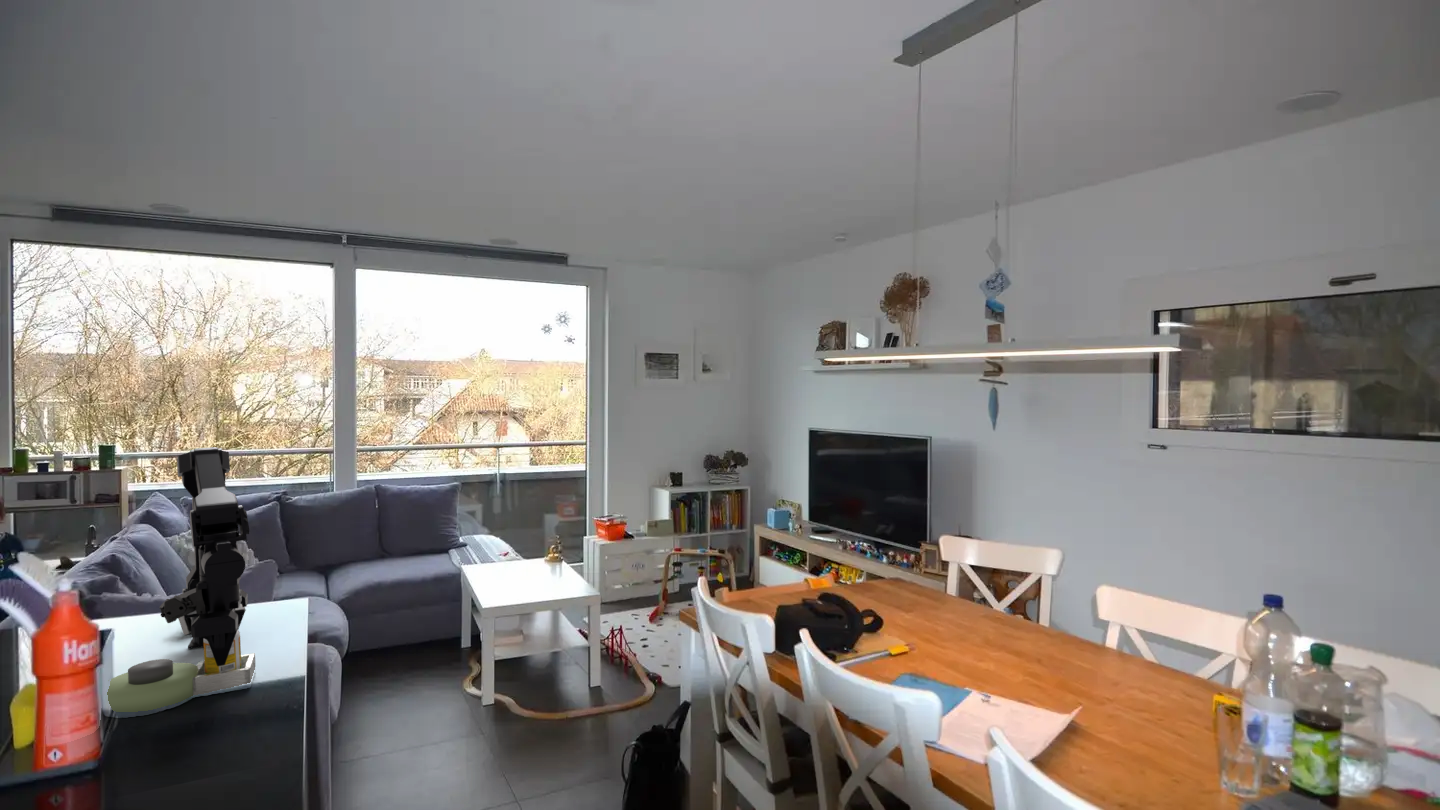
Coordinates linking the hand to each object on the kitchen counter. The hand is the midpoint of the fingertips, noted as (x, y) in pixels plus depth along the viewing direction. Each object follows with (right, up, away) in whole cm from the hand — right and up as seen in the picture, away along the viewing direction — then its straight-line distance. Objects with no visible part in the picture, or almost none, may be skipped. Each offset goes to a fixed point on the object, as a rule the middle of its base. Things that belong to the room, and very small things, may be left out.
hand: (223, 660), depth 132 cm
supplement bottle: (0, -3, 0) cm, 3 cm away
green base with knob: (-8, -5, -6) cm, 11 cm away
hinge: (-27, -4, +36) cm, 45 cm away
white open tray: (0, -4, 0) cm, 4 cm away
